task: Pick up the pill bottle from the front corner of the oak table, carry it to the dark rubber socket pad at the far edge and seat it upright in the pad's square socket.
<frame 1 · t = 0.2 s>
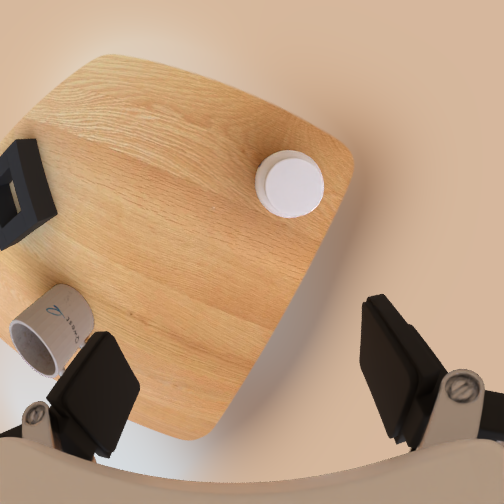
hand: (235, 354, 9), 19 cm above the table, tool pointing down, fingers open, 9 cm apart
mug: (75, 321, 32), on the table
pill bottle: (282, 178, 26), on the table
socket pad: (23, 193, 26), on the table
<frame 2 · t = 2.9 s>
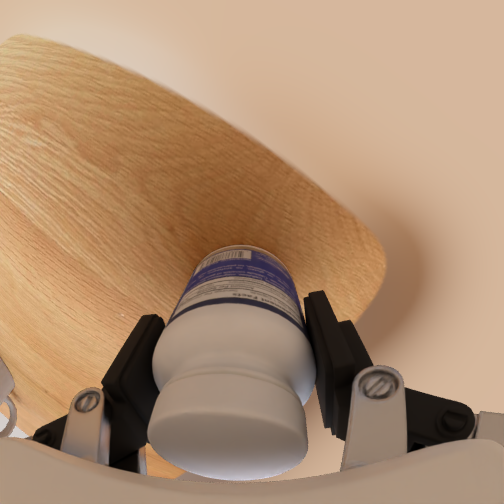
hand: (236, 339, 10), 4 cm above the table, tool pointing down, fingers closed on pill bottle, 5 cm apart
pill bottle: (242, 290, 14), on the table, touching gripper
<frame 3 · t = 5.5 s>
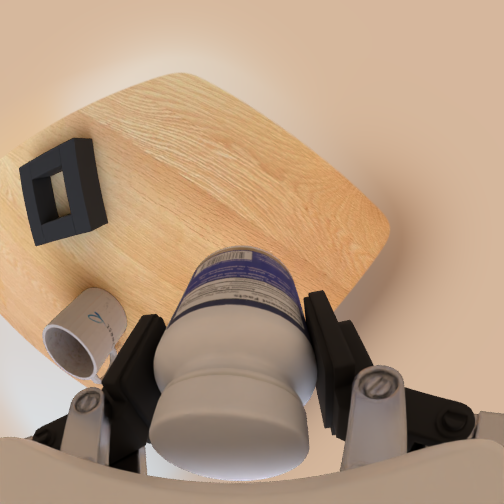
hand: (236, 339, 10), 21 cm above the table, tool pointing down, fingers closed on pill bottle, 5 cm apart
mug: (105, 323, 35), on the table
pill bottle: (243, 291, 14), point 17 cm above the table, touching gripper
socket pad: (68, 191, 29), on the table
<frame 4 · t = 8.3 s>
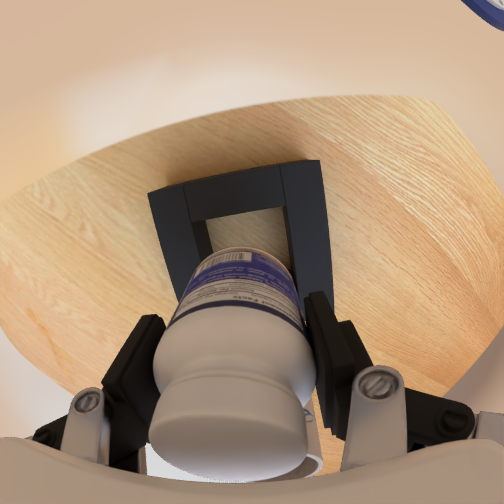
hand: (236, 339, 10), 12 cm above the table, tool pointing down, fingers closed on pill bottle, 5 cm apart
mug: (271, 403, 28), on the table
pill bottle: (242, 291, 14), point 8 cm above the table, touching gripper
socket pad: (248, 240, 21), on the table
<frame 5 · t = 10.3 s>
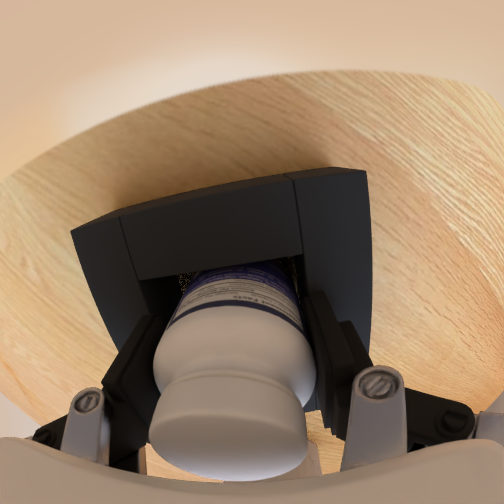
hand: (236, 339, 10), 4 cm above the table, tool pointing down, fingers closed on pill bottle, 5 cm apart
mug: (270, 462, 20), on the table
pill bottle: (242, 291, 14), resting in socket pad, touching gripper
socket pad: (239, 292, 14), on the table
when the fingers open (4 cm above the table, at t = 14.0 s): pill bottle stays where it is, resting in socket pad.
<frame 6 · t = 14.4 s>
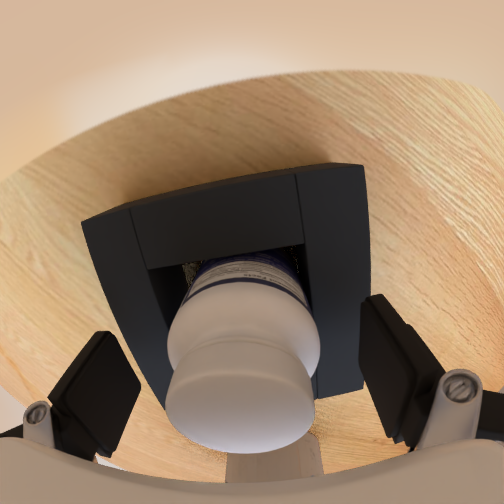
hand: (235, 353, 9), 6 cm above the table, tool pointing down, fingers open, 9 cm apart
mug: (272, 455, 21), on the table
pill bottle: (248, 279, 15), resting in socket pad
socket pad: (242, 283, 14), on the table
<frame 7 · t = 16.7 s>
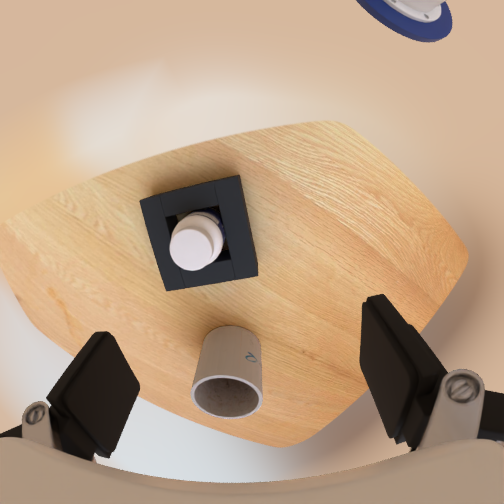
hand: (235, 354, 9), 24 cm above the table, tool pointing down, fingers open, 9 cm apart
mug: (232, 357, 39), on the table
pill bottle: (206, 227, 33), resting in socket pad
socket pad: (204, 229, 32), on the table
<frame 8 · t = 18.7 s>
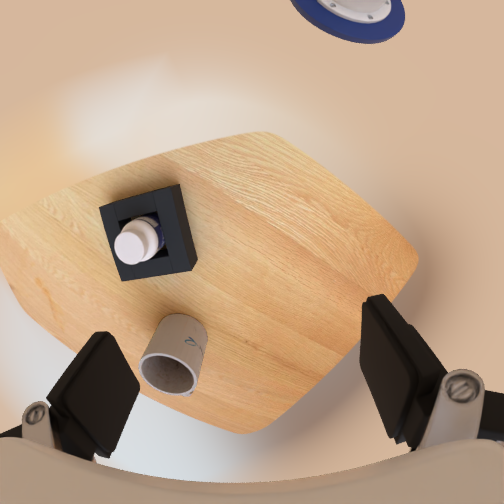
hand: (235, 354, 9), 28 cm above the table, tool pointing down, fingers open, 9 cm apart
mug: (184, 342, 44), on the table
pill bottle: (155, 228, 37), resting in socket pad
socket pad: (153, 230, 37), on the table
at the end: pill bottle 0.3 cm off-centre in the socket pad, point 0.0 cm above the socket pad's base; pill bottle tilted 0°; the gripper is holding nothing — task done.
